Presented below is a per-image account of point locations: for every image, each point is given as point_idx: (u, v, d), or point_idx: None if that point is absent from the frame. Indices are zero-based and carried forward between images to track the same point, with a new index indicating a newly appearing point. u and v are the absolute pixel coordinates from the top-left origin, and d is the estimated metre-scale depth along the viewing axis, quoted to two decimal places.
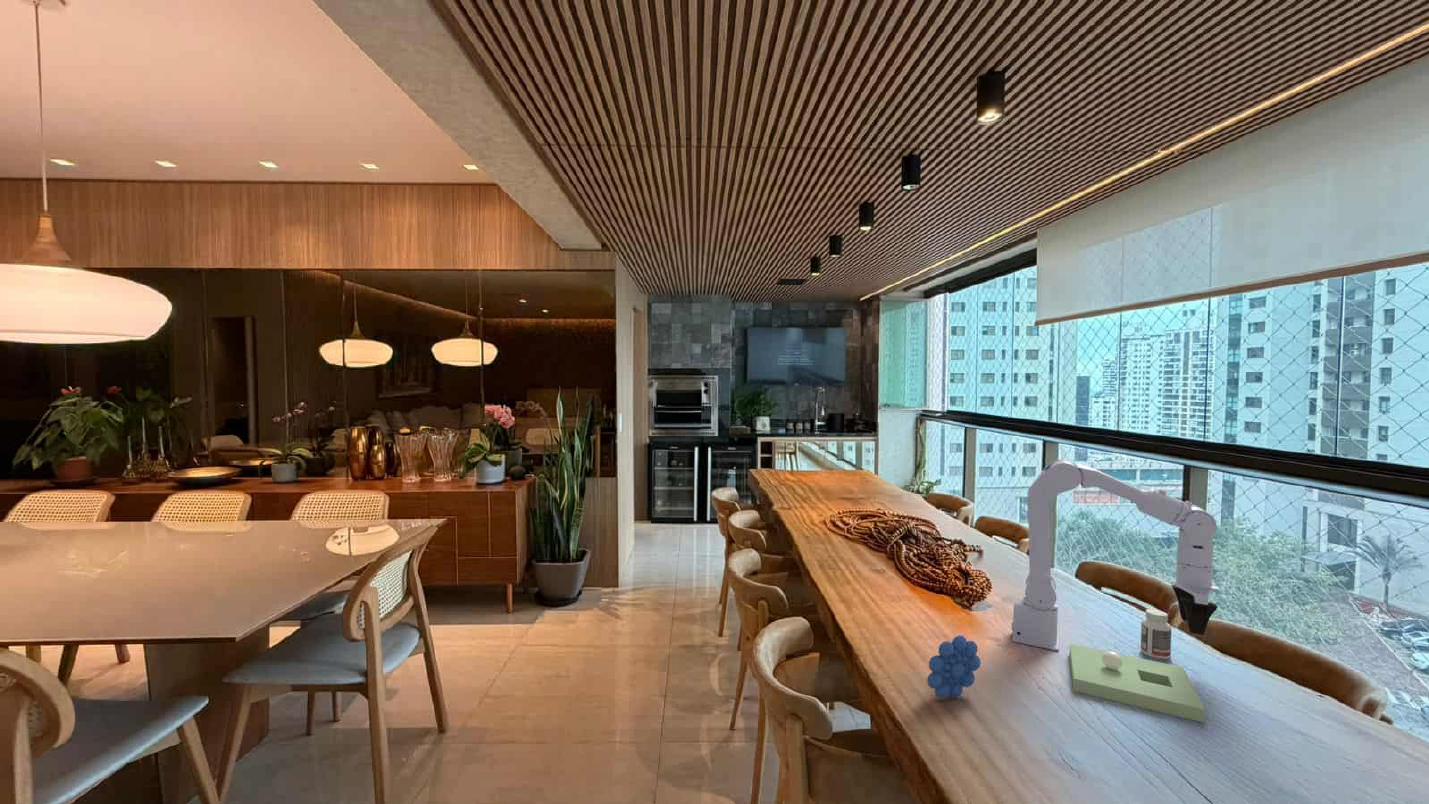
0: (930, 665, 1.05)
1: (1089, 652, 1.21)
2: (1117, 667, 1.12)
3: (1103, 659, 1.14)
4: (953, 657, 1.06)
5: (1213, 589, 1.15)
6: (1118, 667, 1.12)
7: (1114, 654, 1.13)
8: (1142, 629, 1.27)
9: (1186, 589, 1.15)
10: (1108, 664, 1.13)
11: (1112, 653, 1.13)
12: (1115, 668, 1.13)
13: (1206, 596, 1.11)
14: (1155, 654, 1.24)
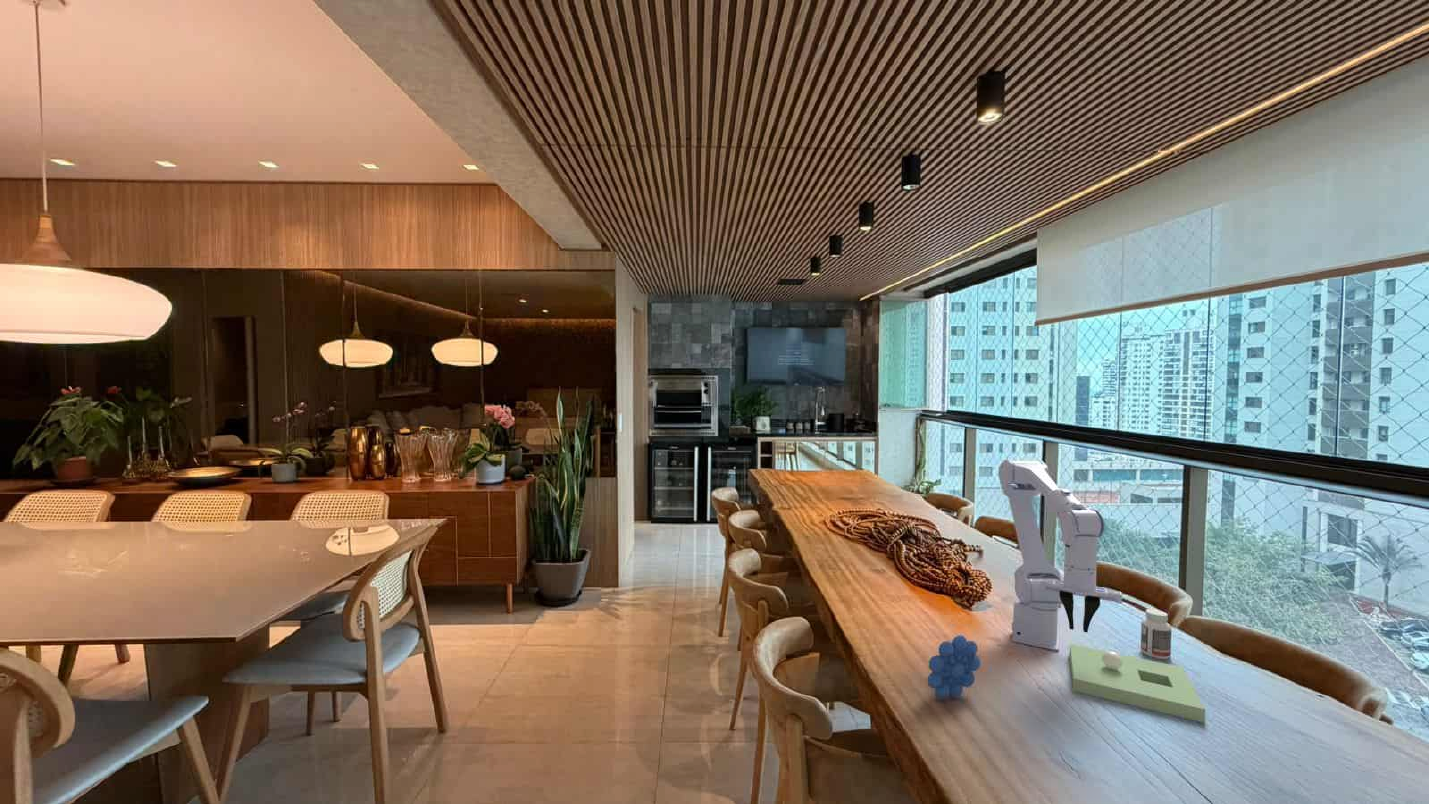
0: (930, 665, 1.05)
1: (1089, 652, 1.21)
2: (1117, 667, 1.12)
3: (1103, 659, 1.14)
4: (953, 657, 1.06)
5: (1074, 590, 1.15)
6: (1118, 667, 1.12)
7: (1114, 654, 1.13)
8: (1142, 629, 1.27)
9: None
10: (1108, 664, 1.13)
11: (1112, 653, 1.13)
12: (1115, 668, 1.13)
13: (1040, 581, 1.20)
14: (1155, 654, 1.24)
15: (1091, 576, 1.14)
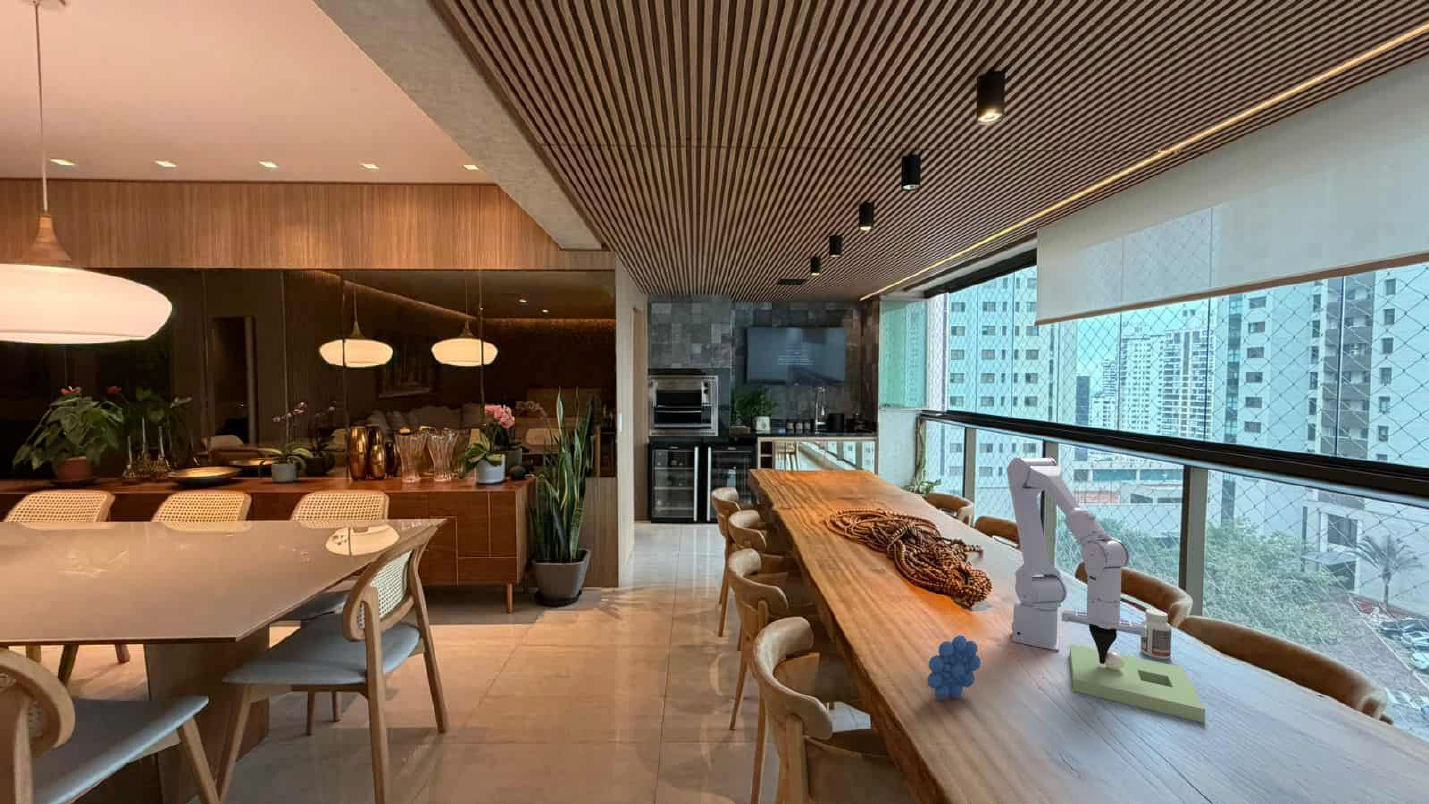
0: (930, 665, 1.05)
1: (1089, 652, 1.21)
2: (1118, 668, 1.12)
3: None
4: (953, 657, 1.06)
5: (1097, 623, 1.13)
6: (1119, 668, 1.12)
7: (1116, 655, 1.13)
8: None
9: None
10: (1110, 664, 1.13)
11: (1114, 654, 1.13)
12: (1116, 669, 1.12)
13: (1062, 612, 1.18)
14: (1155, 654, 1.24)
15: (1115, 609, 1.12)
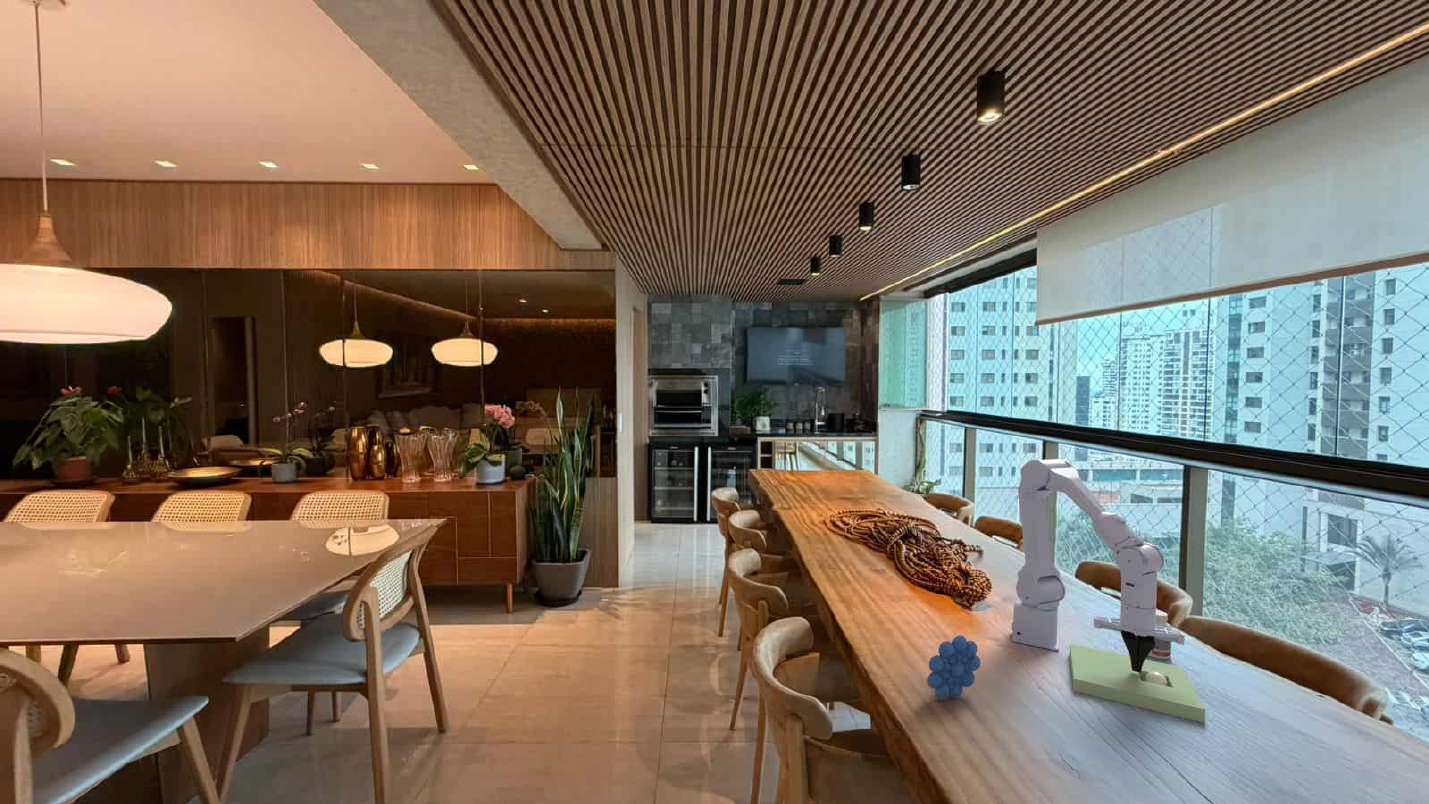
0: (930, 665, 1.05)
1: (1089, 652, 1.21)
2: (1161, 679, 1.09)
3: None
4: (953, 657, 1.06)
5: (1132, 630, 1.10)
6: (1160, 678, 1.09)
7: (1146, 679, 1.11)
8: None
9: None
10: None
11: (1146, 681, 1.11)
12: (1163, 681, 1.09)
13: (1094, 619, 1.15)
14: (1155, 654, 1.24)
15: (1151, 616, 1.09)
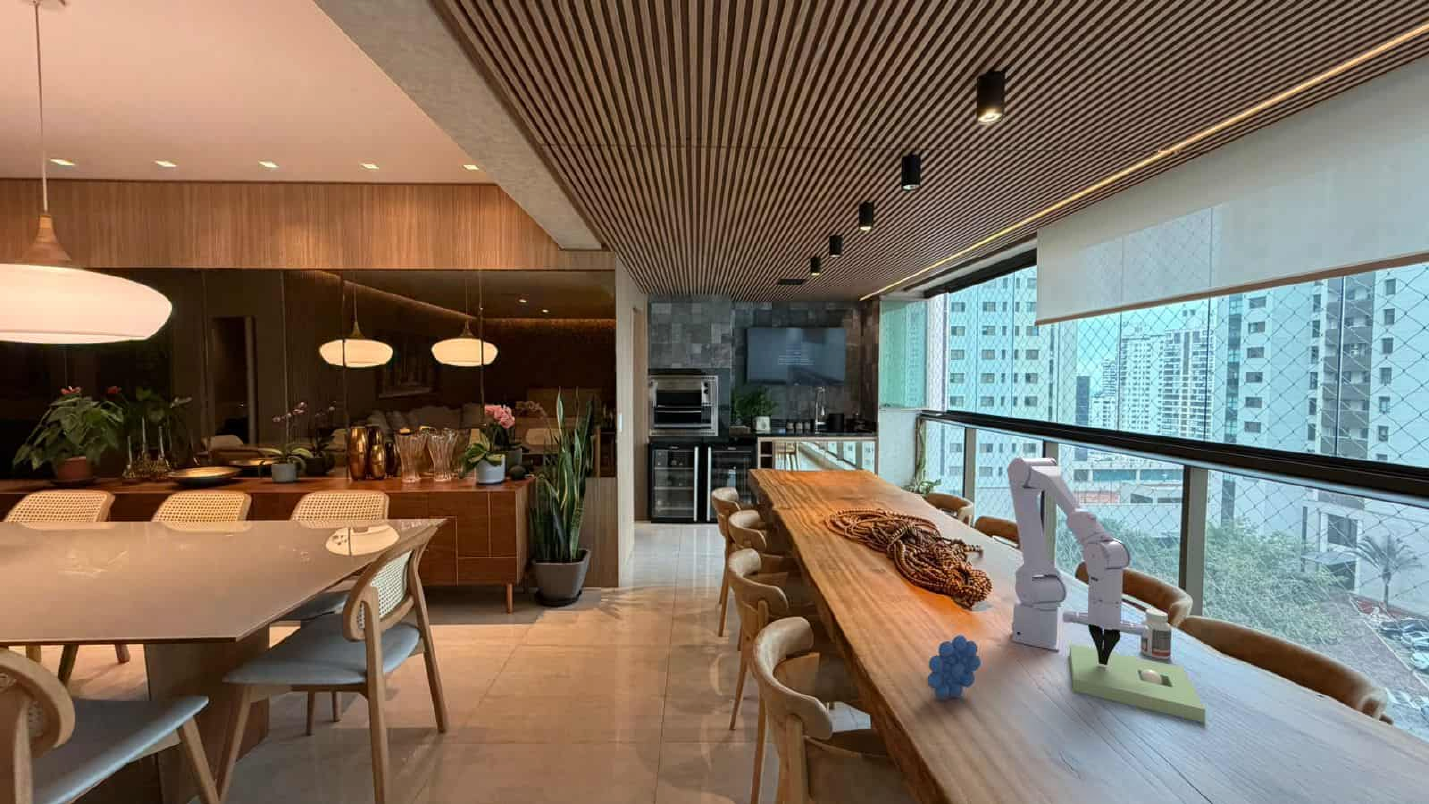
0: (930, 665, 1.05)
1: (1089, 652, 1.21)
2: (1151, 674, 1.10)
3: None
4: (953, 657, 1.06)
5: (1099, 624, 1.13)
6: (1151, 673, 1.10)
7: (1142, 680, 1.11)
8: None
9: None
10: (1155, 682, 1.09)
11: None
12: (1154, 675, 1.10)
13: (1063, 613, 1.18)
14: (1155, 654, 1.24)
15: (1116, 610, 1.12)
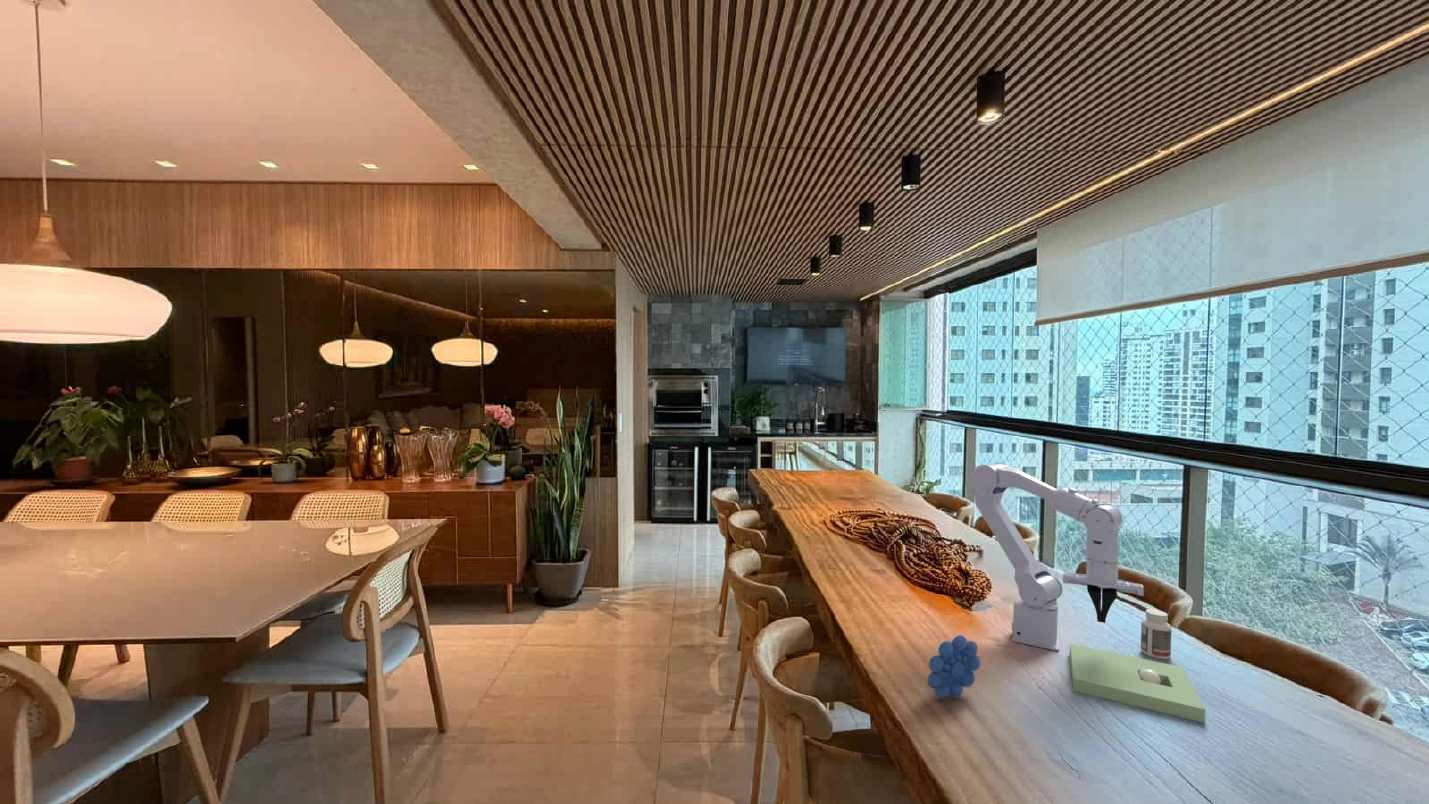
0: (930, 665, 1.05)
1: (1089, 652, 1.21)
2: (1149, 673, 1.11)
3: None
4: (953, 657, 1.06)
5: (1096, 583, 1.20)
6: (1148, 672, 1.11)
7: None
8: (1142, 629, 1.27)
9: None
10: (1153, 681, 1.10)
11: None
12: (1152, 673, 1.10)
13: (1063, 575, 1.25)
14: (1155, 654, 1.24)
15: (1113, 569, 1.19)
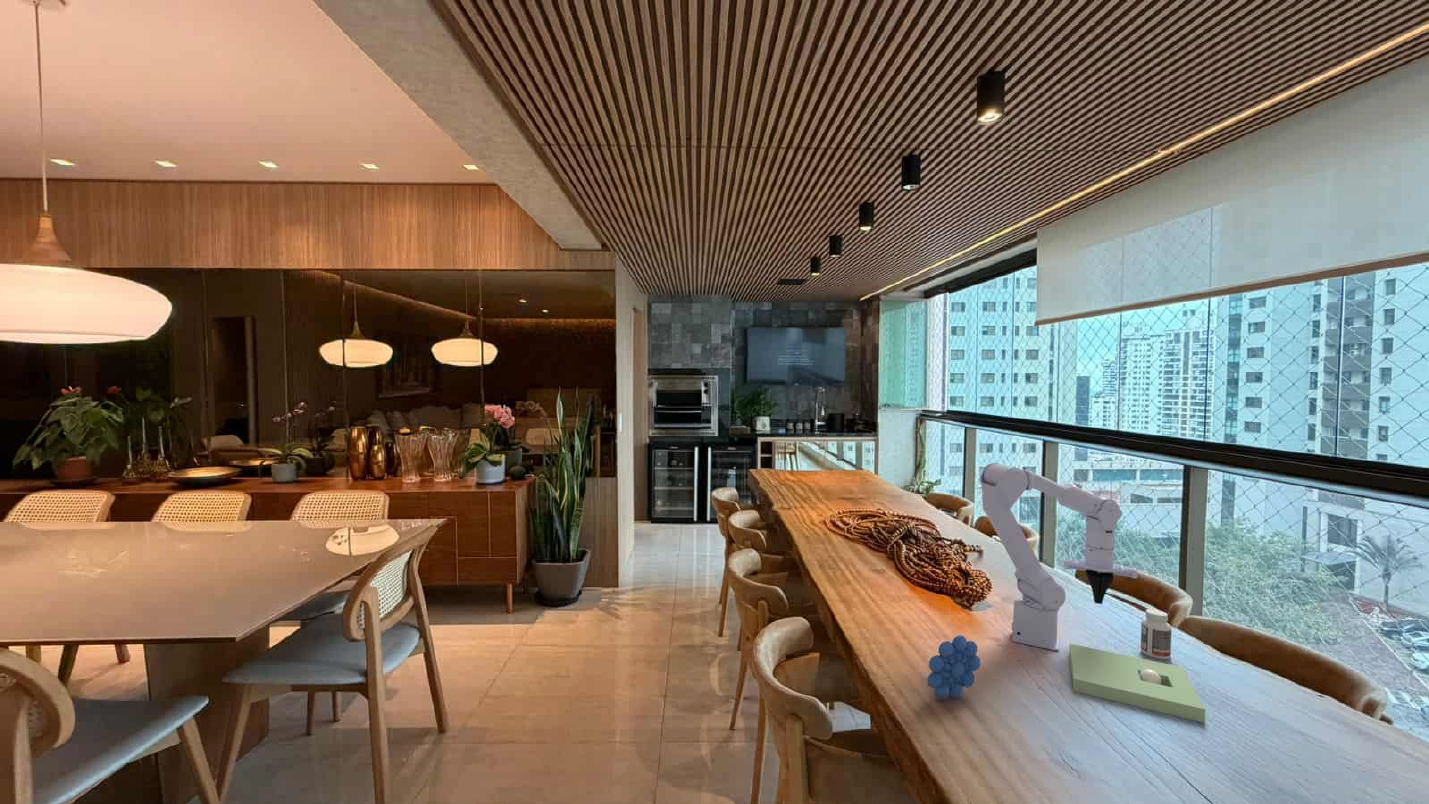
0: (930, 665, 1.05)
1: (1089, 652, 1.21)
2: (1150, 673, 1.10)
3: None
4: (953, 657, 1.06)
5: (1095, 568, 1.30)
6: (1149, 672, 1.11)
7: None
8: (1142, 629, 1.27)
9: None
10: (1154, 681, 1.10)
11: None
12: (1153, 674, 1.10)
13: (1063, 561, 1.35)
14: (1155, 654, 1.24)
15: (1110, 555, 1.29)
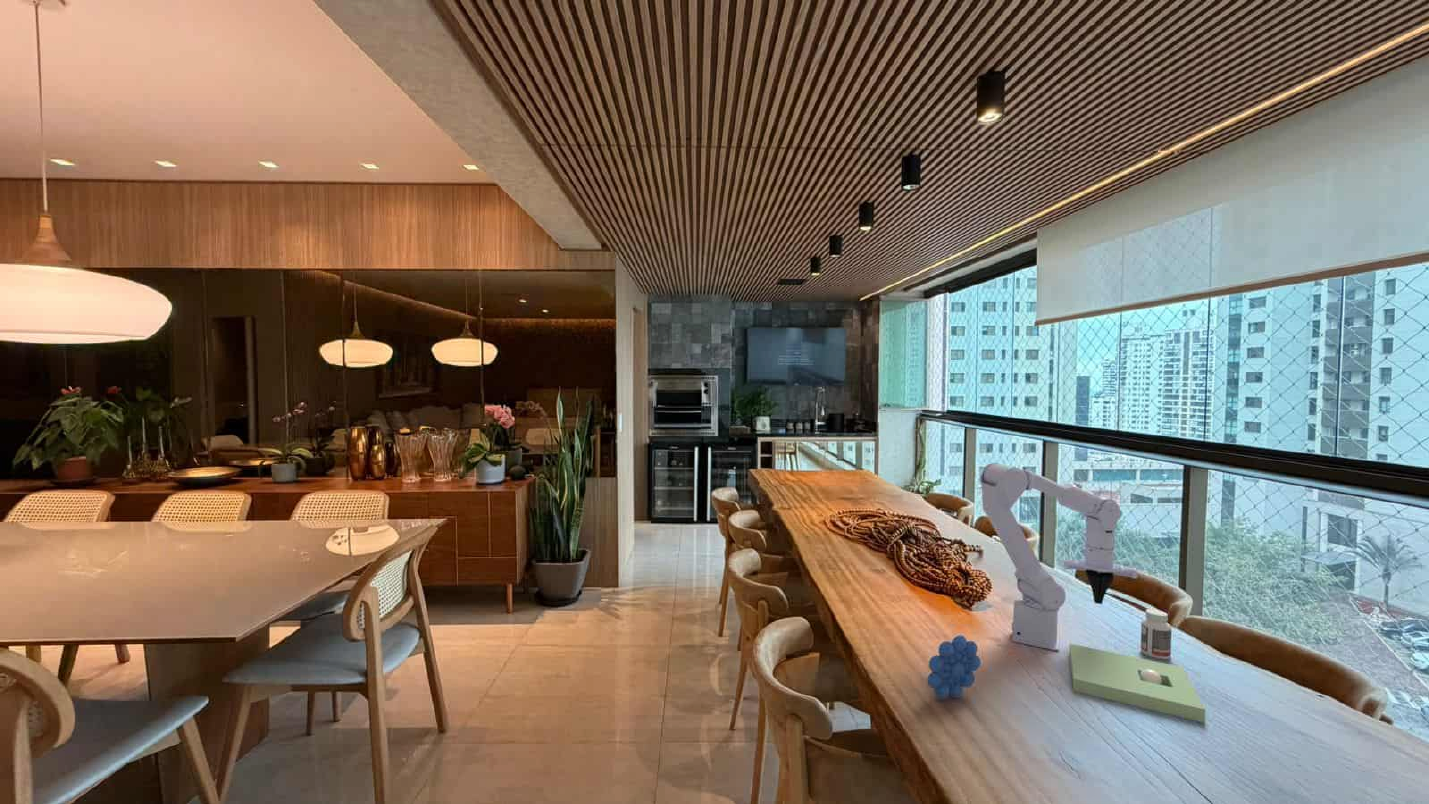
0: (930, 665, 1.05)
1: (1089, 652, 1.21)
2: (1151, 673, 1.10)
3: None
4: (953, 657, 1.06)
5: (1095, 568, 1.30)
6: (1150, 672, 1.11)
7: None
8: (1142, 629, 1.27)
9: None
10: (1154, 681, 1.09)
11: None
12: (1154, 674, 1.10)
13: (1063, 561, 1.35)
14: (1155, 654, 1.24)
15: (1110, 555, 1.29)
